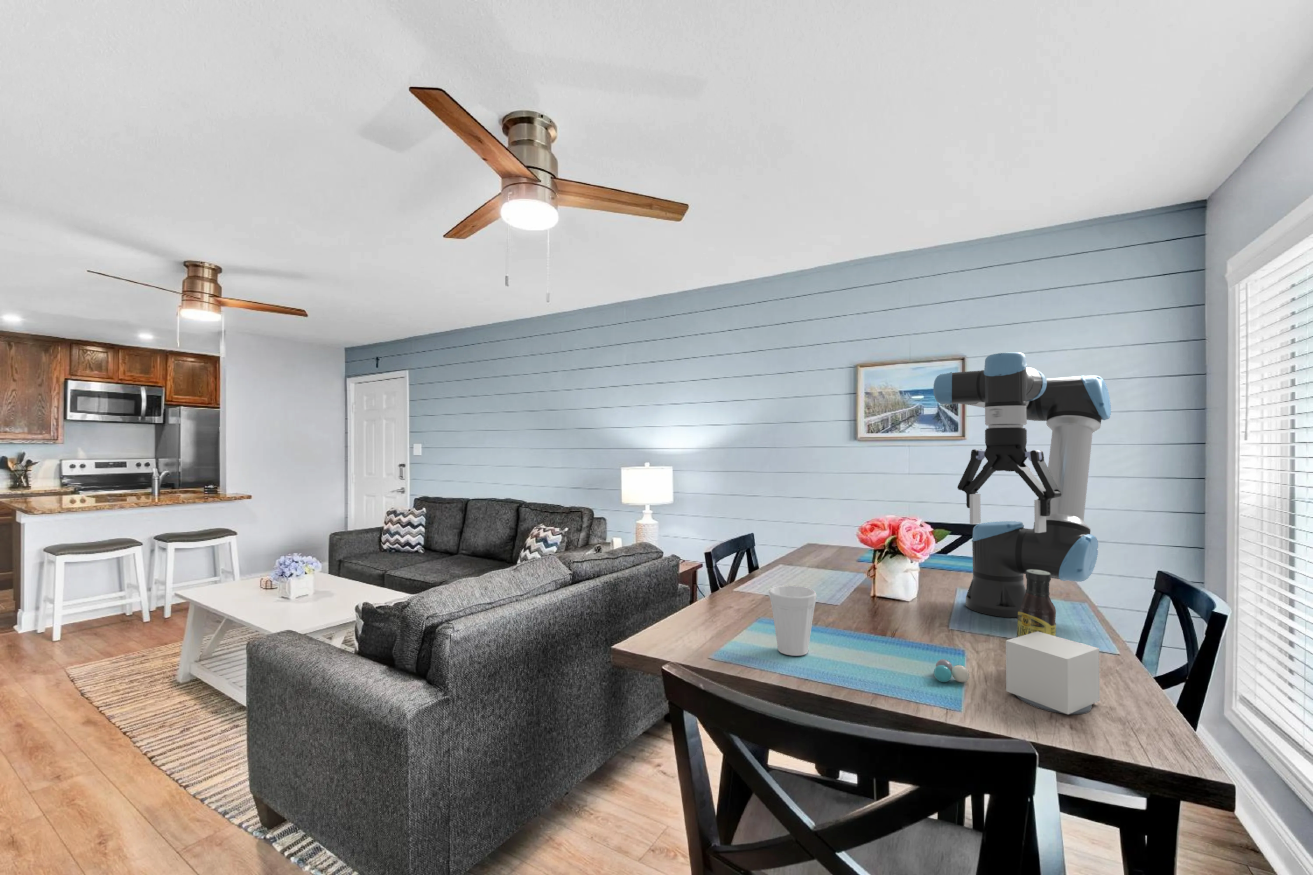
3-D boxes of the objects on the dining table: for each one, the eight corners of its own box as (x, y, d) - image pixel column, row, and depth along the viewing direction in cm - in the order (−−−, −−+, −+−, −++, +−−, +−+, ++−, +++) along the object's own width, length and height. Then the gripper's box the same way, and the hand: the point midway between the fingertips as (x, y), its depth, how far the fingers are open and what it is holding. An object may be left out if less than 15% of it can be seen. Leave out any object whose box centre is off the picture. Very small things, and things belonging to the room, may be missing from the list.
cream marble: (958, 677, 110) (957, 661, 110) (973, 682, 108) (972, 666, 108) (947, 680, 109) (947, 664, 109) (962, 686, 106) (962, 669, 106)
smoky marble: (942, 670, 113) (942, 655, 113) (956, 676, 111) (956, 660, 111) (932, 674, 112) (932, 658, 112) (946, 679, 109) (946, 663, 109)
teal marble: (940, 676, 110) (940, 661, 110) (955, 682, 108) (955, 666, 108) (930, 680, 109) (930, 664, 109) (944, 686, 106) (944, 669, 106)
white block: (1037, 679, 108) (1037, 631, 108) (1099, 700, 99) (1099, 648, 99) (1006, 690, 103) (1005, 640, 103) (1068, 714, 94) (1067, 659, 94)
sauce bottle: (1008, 669, 114) (1008, 568, 114) (1031, 664, 116) (1030, 566, 116) (1041, 682, 108) (1040, 576, 108) (1064, 677, 110) (1063, 573, 110)
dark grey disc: (1036, 681, 108) (1036, 677, 108) (1104, 704, 99) (1104, 701, 99) (1001, 693, 103) (1001, 690, 103) (1069, 720, 93) (1069, 716, 93)
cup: (759, 648, 126) (759, 588, 126) (795, 640, 131) (794, 583, 131) (790, 664, 117) (789, 599, 117) (827, 655, 122) (826, 593, 122)
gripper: (940, 427, 131) (940, 521, 131) (1060, 425, 109) (1061, 537, 109) (961, 428, 134) (961, 519, 134) (1081, 425, 112) (1082, 534, 112)
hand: (1006, 527), depth 122 cm, fingers open, 13 cm apart
